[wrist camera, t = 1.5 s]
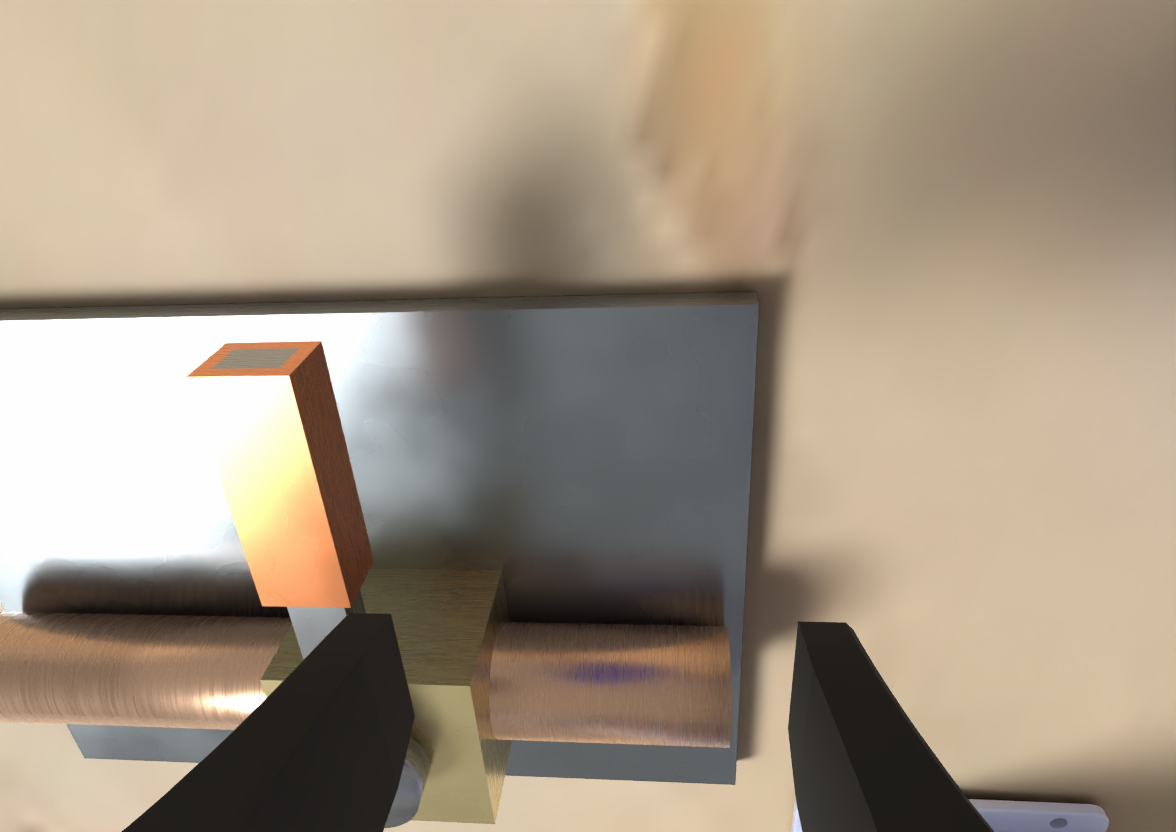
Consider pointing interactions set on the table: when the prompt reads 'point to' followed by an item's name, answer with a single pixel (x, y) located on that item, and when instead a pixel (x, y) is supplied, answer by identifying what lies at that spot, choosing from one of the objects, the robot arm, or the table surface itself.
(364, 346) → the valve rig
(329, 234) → the table surface
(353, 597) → the valve lever
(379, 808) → the robot arm
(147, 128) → the table surface
